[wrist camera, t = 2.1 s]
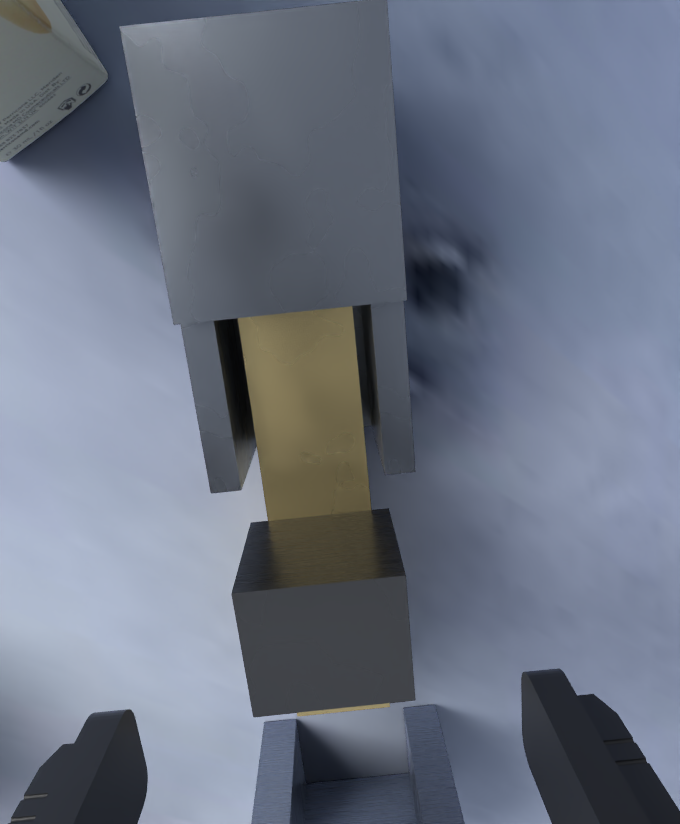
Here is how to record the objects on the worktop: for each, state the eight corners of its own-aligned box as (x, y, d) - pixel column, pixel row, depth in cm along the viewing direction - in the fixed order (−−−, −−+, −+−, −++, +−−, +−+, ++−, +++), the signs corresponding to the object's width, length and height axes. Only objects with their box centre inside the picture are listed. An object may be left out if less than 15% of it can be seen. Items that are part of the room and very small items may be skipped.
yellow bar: (208, 128, 16) (134, 47, 10) (347, 113, 16) (362, 22, 10) (288, 653, 21) (272, 824, 15) (394, 643, 21) (424, 808, 15)
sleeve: (184, 99, 16) (119, 26, 11) (366, 80, 16) (386, -2, 11) (238, 435, 19) (206, 503, 14) (392, 418, 19) (419, 480, 14)
